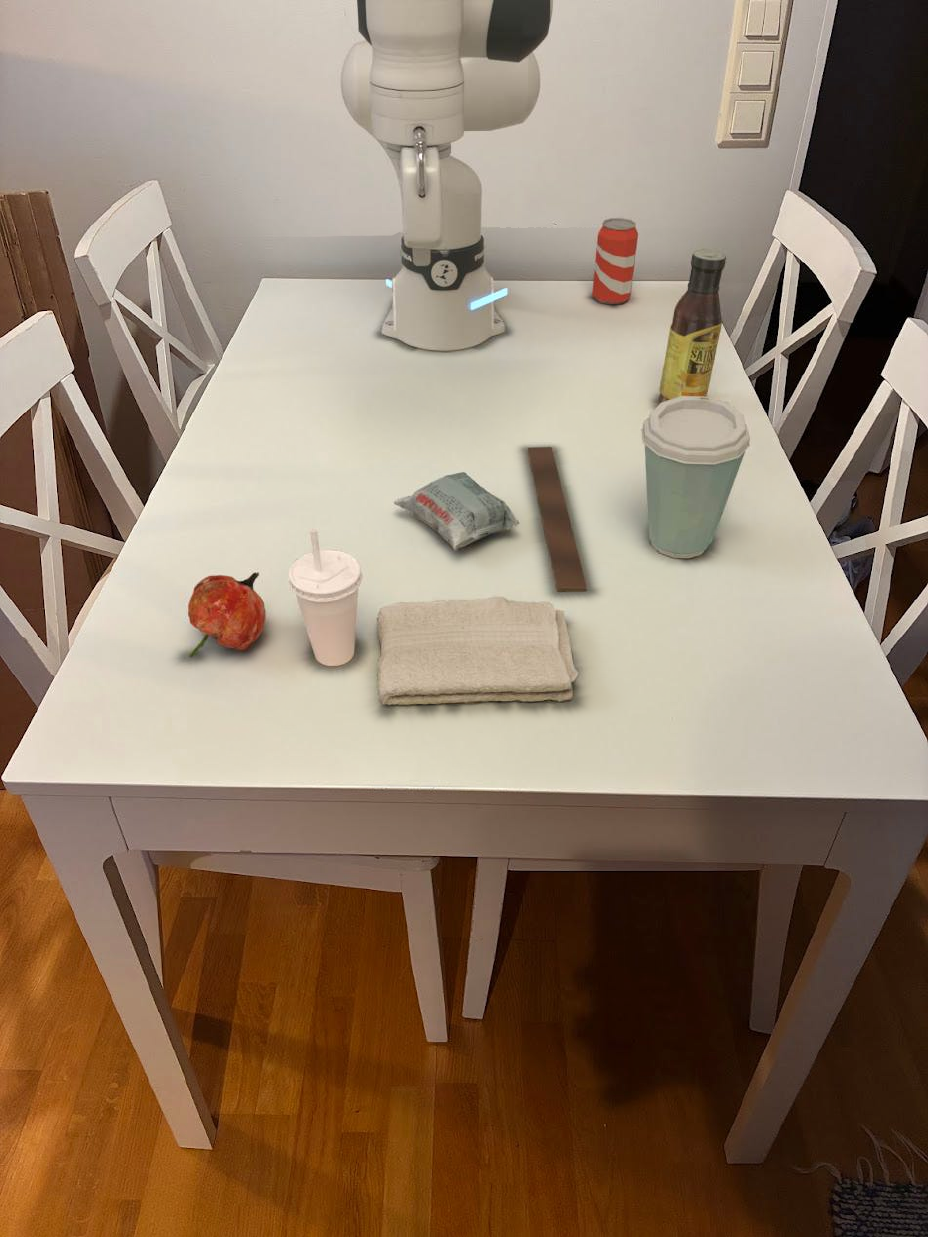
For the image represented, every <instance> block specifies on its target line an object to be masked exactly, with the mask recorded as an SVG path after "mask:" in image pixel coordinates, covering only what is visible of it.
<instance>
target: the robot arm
mask: <svg viewBox="0 0 928 1237" xmlns="http://www.w3.org/2000/svg"><path fill="white" fill-rule="evenodd" d="M356 5H357V24H358V26H357V27H358V28H357V29H358V33H359V34H360V35H361V36H362V37H363V38H364V39H365V40H362V41H358V42H355V43H354V44H353V45H352V46H351V47H350V49H349V51H348V52H347V54H346V56H345V58H344V61H343V63H342V68H341V72H340V92H341V96H342V100H343V103H344V105H345V108H346V110H347V112H348V114H349V115H350V117H351V119H353V121H354V122H355V123H356V124H357V125H358V126H359V127H360V128H362V129H363V130H365V131H366V132H367V133H368V134H370V135H371V136H372V137H373V138H374V139H375V141H376V142H378V143H379V145H380V147H382V149H383V150H384V152H385V153H386V155H387V156H388V158H389V160H390V161H391V163H392V166H393V168H394V172H395V173H396V176H397V180H398V185H399V191H400V199H401V210H402V214H401V216H402V236H401V239H400V241H401V242H400V244H401V245H400V255H401V264H402V267H401V270H399V271H398V273H396V275H395V276H393V277H392V278H391V280H390V279H388V278H387V279H385V285H386V286H387V287H389V288H390V289H391V292H392V302H391V308H390V309H389V312H388V314H387V316H386V318H385V319H384V322H383V324H382V325H381V334H382V335H383V336H385V337H389V338H394V339H397V340H399V341H400V342H403V343H404V344H406V345H409V346H411V347H414V348H418V349H422V350H427V351H428V350H429V351H440V352H441V351H457V350H464V349H469V348H472V347H475V346H478V345H480V344H482V343H484V342H486V341H487V340H488V339H490V338H491V337H494V336H498V335H501V334H504V333H505V332H506V325H505V323H504V321H503V320H502V318H501V317H500V315H499V314H498V313H497V312H496V310H495V309H494V308H495V306H494V304H495V303H494V301H497V300H499V299H500V298H503V297H506V296H508V288H506V287H505V288H503V289H501V290H498V291H496V292H494V278H493V277H492V276H491V274H490V273H489V271H487V270H486V269H485V267H484V263H485V250H486V249H485V248H486V247H485V239H484V238H485V237H484V236H483V234H482V197H483V196H482V194H483V193H482V191H483V188H482V183H481V180H480V178H479V176H478V174H477V173H476V171H475V170H474V169H473V168H472V167H470V165H468V164H467V163H466V162H464V161H462V160H460V159H458V158H457V157H454V156H453V155H451V154H452V143H454V142H456V141H459V140H460V139H461V138H463V137H464V134H465V132H491V131H497V130H501V129H505V128H510V127H513V126H517V125H521V124H523V123H524V122H526V120H527V119H528V118H529V117H530V115H531V114H532V112H533V110H534V109H535V107H536V105H537V102H538V99H539V95H540V90H541V72H540V66H539V63H538V60H537V58H536V55H535V53H534V51H536V49H538V48H539V46H540V45H541V44H542V43H543V42H544V41H545V40H546V38H547V37H548V34H549V30H550V26H551V21H552V17H553V10H554V9H553V8H554V0H356Z"/></svg>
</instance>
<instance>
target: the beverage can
mask: <svg viewBox="0 0 928 1237" xmlns="http://www.w3.org/2000/svg"><path fill="white" fill-rule="evenodd" d="M636 225H637V224H636V222H635V221H633V220H632V219H628V218H623V217H611V218H607V219H603V221H602V226H601V228H600V229H599V230H598V233H597V238H596V248H595V249H596V250H595V261H594V270H593V271H594V272H593V281H592V293H591V296H592V297H593V298H594V299H596V300H597V301H598V302H600V303H601V304H606V305H620V304H623V303H625V301H628V300H630V298H631V295H632V287H633V280H634V272H635V264H636V256H637V246H638V238H639V233H638V230H637V228H636Z"/></svg>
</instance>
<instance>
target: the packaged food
mask: <svg viewBox="0 0 928 1237" xmlns="http://www.w3.org/2000/svg"><path fill="white" fill-rule="evenodd" d="M412 493H413V494H411V495H408V496H403V497H400V498H397V499H395V500H394V501H393V503H394V505H395V506H398V507H400V508H401V509H403V510H406V511H407V512H409V513H410V515H412V516H413V517H414V518H416V519H417V520H419V521H421V522H422V523H423V524H425V525H427V526H428V527H430V528H431V529H432V530H433V531H435V532H436V533H437V534H438V535H440V537H442V539H443V540H444V541H446V542H447V543H448V544H449V545H450V546H451V547H452V548H453V550H454V551H456V552H457V550H458V549H459V548H463V547H465V546H468V545H470V544H472V543H474V542H476V541H478V540H480V539H482V538H485V537H486V536H490V535H493V534H497V533H500V532H502V531H507V530H508V529H512V528H513V527H517V526H518V525H520V522H519V520H518V519H517V518H516V517H515V515H514V513H513V512H512V510H511V508H510V507H509V506H508V505H507V503H506V502H505V501H504V500H502V499H500V498H499V497H497V496H496V495H494V494H492V493H491V492H489V491H488V490H486V489H485V488H484V487H482V486H481V485H480V484H479V483H477V482H476V480H474V479H473V478H472V477H471V476H469V475H468V474H467V473H466V472H465V471H462V472H456V473H452V474H447V475H444V476H443V477H440V478H438V479H435V480H433V481H431V482H429V483H428V484H426V485H425V486H423V487H420V488H419V489H416V491H414V492H412Z"/></svg>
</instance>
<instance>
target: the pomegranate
mask: <svg viewBox="0 0 928 1237" xmlns="http://www.w3.org/2000/svg"><path fill="white" fill-rule="evenodd" d="M259 576H260V572H253V573H252V574H250V576H248V578H245V579H244V580H237V579H236V578H234V577H233V576H231V575H222V574H220V575H217V574H215V575H208V576H206V577H204V578H203V579H201V580H200V581H199V582H197V583H196V585H195V586H194V588H193V591H192V595H191V596H190V599H189V602H188V605H187V616H188V618H189V623H190V625H191V626H193V628H195V629H196V630H199V631H200V632H201V633H203V634H205V635H204V636H203V638H202V640H201V641H200V642H199V643H198V644H197V645H196V647H195V648H194V649H193V650H192V651H190V654H188V657H190V658H192V657H193V656H194V655H195V654H196V653H198V651H199V650H200V648H202V647H203V646H205V643H206V642H207V640H208V639H209V638H210V637H212V638H213V639H215V640H216V642H217V643H218V644H219V645H221V646H222V647H226V648H231V649H234V650H235V651H237V652H241V651H244V650H246V649H248V648H249V647H250V646H251V645H253V643H254V642H255V641H256V640H257V639H258V638H259V637H260V636H261V634H262V631H263V628H264V626H265V624H266V621H267V620H266V619H267V616H266V615H267V613H266V607H265V602H264V600H263V599H262V597H261V596H260V595H259V594H258V592H256V590H255V589H254V583H255V582H256V579H257V578H258V577H259Z"/></svg>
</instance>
